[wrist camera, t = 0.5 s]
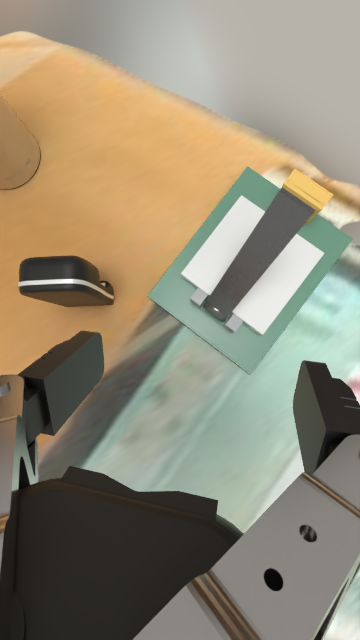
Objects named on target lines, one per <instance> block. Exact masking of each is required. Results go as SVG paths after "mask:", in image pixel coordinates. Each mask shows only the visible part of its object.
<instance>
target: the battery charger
mask: <svg viewBox="0 0 360 640" xmlns="http://www.w3.org/2000/svg"><path fill="white" fill-rule="evenodd" d="M18 288H19V291H20V293H21V294H22V295H24V296H27V297H31V298H35V299H38V300H42V301H46V302H50V303H55V304H58V305H62V306H65V307H72V306H95V305H112V304H113V300H114V296H113V289H112V286H111V284H110V283H109V282H107V281H99V272H98V269H97V268H96V267H95V266H94V265H92V264H91V263H90V262H88V261H87V260H85V259H83V258H80V257H78V256H51V257H34V258H28V259H25V260H24V261H22V262H21V264H20V269H19V283H18Z"/></svg>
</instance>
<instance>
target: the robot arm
mask: <svg viewBox="0 0 360 640" xmlns="http://www.w3.org/2000/svg"><path fill="white" fill-rule="evenodd" d="M39 161H40V149H39V146H38V143H37V141H36V139H35V137H34V136H33V135H32V134H31V132H30V131H29V130H28V129H27V127H26V126H25V125H24V123H23V122H22V121H21V120H20V118H19V117H18V116H17V114H16V113H15V112H14V111H13V109H12V108H11V107H10V106H9V104H8V103H7V102H6V101H5V99H4V98H3V97H2V95H1V94H0V189H12V188H16V187H18V186H20V185H23V184H24V183H25V182H27V181H28V180H29V179H30V178H31V177H32V176H33V175H34V173H35V171H36V170H37V167H38V165H39ZM103 372H104V357H103V346H102V337H101V335H100V333H96V332H88V331H80V332H79V333H77V334H76V335H75V336H74V337H72V338H71V339H70V340H68V341H65V342H63V343H60V344H58V345H56V346H55V347H53V348H52V349H51V350H49V351H48V353H46V354H44V355H43V356H42V357H41V359H38V360H36V361H35V362H34V363H32V364H31V365H30V366H29V367H27V368H26V369H25V370H23V371H22V372H21V373H19V374H18V375H2V376H0V640H323V638H324V636H325V635H326V633H327V631H328V629H329V627H330V625H331V623H332V621H333V619H334V617H335V615H336V613H337V611H338V609H339V607H340V605H341V603H342V601H343V599H344V597H345V596H346V594H347V592H348V590H349V588H350V586H351V584H352V583H353V581H354V579H355V577H356V575H357V573H358V571H359V570H360V405H359V403H358V401H356V397H355V395H354V393H353V391H352V389H351V388H350V387H349V386H348V385H346V384H345V383H344V382H343V381H342V380H341V379H336V378H332V377H331V374H330V372H329V370H328V368H327V365H326V364H325V363H319V362H312V361H302V363H301V367H300V371H299V375H298V380H297V384H296V389H295V393H294V399H293V413H294V418H295V423H296V429H297V434H298V439H299V444H300V450H301V455H302V460H303V466H304V471H305V472H304V473H302V474H301V475H300V476H299V477H298V478H297V479H296V480H295V481H294V482H293V483H292V484H291V485H290V486H289V487H288V488H287V489H286V490H285V491H284V492H283V493H282V494H281V495H280V497H279V498H278V499H277V500H276V501H275V502H274V503H273V504H272V505H271V506H270V507H269V508H268V509H267V510H266V511H265V512H264V513H263V514H262V516H261V517H260V518H259V519H258V520H257V521H256V522H255V523H254V524H253V525H252V526H251V527H250V528H249V529H248V530H247V531H246V532H245V533H244V534H243V533H242V532H241V531H240V530H239V529H238V528H237V527H235V526H234V525H233V524H232V523H230V522H229V521H227V520H226V519H224V518H223V517H221V516H219V515H217V514H216V513H217V504H218V500H214V499H210V498H206V497H201V496H197V495H193V494H188V493H184V492H180V491H162V492H137V491H134V490H132V489H130V488H128V487H126V486H125V485H123V484H121V483H119V482H117V481H115V480H114V479H112V478H110V477H108V476H106V475H105V474H102V473H98V472H93V471H89V470H85V469H80V468H76V467H72V466H69V468H68V469H67V471H66V472H65V474H64V475H63V477H62V478H57V479H50V480H45V481H41V482H38V445H37V439H36V437H37V436H38V435H39V434H40V433H43V434H48V435H52V436H54V435H55V434H56V433H57V432H58V430H59V429H60V428H61V427H62V426H63V424H64V423H65V422H66V421H67V419H68V418H69V417H70V416H71V415H72V413H73V412H74V411H75V410H76V409H77V407H78V406H79V405H80V404H81V402H82V401H83V400H84V399H85V398H86V396H87V395H88V394H89V393H90V392H91V390H92V389H93V388H94V387H95V385H96V384H97V383H98V382H99V381H100V379H101V378H102V375H103Z"/></svg>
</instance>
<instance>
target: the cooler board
mask: <svg viewBox="0 0 360 640" xmlns="http://www.w3.org/2000/svg"><path fill="white" fill-rule="evenodd" d="M282 188H284V189H285V190H287V191H288V192H290V193H291V194H293V195H294V196H296V197H297V198H299V199H300V200H301V201H303V202H304V203H306V204H307V205H309V206H310V207H312V208H313V209H315V211H314V213H313V214H312V216H311V217H310V218H309V219H308V220H307V222H306V223H305V224H304V225H303V226H302V228H301V229H300V230H299V231H298V232H297V234H296V235H295V236H294V237H293V239H292V240H291V241H290V242H289V243H288V245H287V246H286V247H285V248H284V249H283V251H282V252H281V253H280V254H279V255H278V257H277V258H276V259H275V260H274V261H273V263H272V264H271V265H270V266H269V268H268V269H267V270H266V271H265V272H264V274H263V275H262V276H261V277H260V278H259V280H258V281H257V282H256V283H255V284H254V286H253V287H252V288H251V289H250V291H249V292H248V293H247V294H246V295H245V297H244V298H243V299H242V300H241V301H240V303H239V304H238V305H237V306H236V307H235V309H234V310H233V311H232V312H231V314H230V315H229V316H228V317H227V318H226V320H225V321H224V322H222V321H220V320H219V319H218V318H216V317H215V316H214V315H212V314H211V313H210V312H208V311H207V310H206V309H204V308H203V307H202V306H203V305H204V303H205V302H206V301H207V299H208V298H209V296H210V295H211V293H212V292H213V290H214V289H215V287H216V286H217V284H218V283H219V281H220V280H221V278H222V277H223V275H224V274H225V272H226V270H227V269H228V267H229V266H230V264H231V263H232V261H233V260H234V258H235V257H236V255H237V254H238V252H239V251H240V249H241V248H242V246H243V245H244V243H245V242H246V240H247V239H248V237H249V236H250V234H251V233H252V231H253V230H254V228H255V227H256V225H257V224H258V222H259V221H260V219H261V218H262V216H263V215H264V213H265V211H266V210H267V208H268V207H269V205H270V204H271V202H272V201H273V199H274V198H275V196H276V195H277V193H278V192H279V191H280V190H281V189H279V188H278V187H276V186H275V185H274V184H272V183H271V182H269V181H268V180H266V179H265V178H263V177H262V176H260V175H259V174H258V173H256V172H255V171H253V170H252V169H250V168H249V167H247V168H246V169H245V170H244V172H243V173H242V174H241V176H240V177H239V178H238V179H237V181H236V182H235V183H234V185H233V186H232V187H231V188H230V190H229V191H228V192H227V194H226V195H225V196H224V198H223V199H222V200H221V201H220V203H219V204H218V205H217V207H216V208H215V209H214V211H213V212H212V213H211V214H210V216H209V217H208V218H207V220H206V221H205V222H204V223H203V225H202V226H201V227H200V229H199V230H198V231H197V233H196V234H195V235H194V236H193V238H192V239H191V240H190V242H189V243H188V244H187V246H186V247H185V248H184V249H183V251H182V252H181V253H180V255H179V256H178V257H177V259H176V260H175V261H174V262H173V264H172V265H171V266H170V268H169V269H168V270H167V271H166V273H165V274H164V275H163V277H162V278H161V279H160V281H159V282H158V283H157V284H156V286H155V287H154V288H153V290H152V291H151V292H150V294H149V295H148V297H149V298H150V299H152V300H153V301H154V302H155V303H157V304H158V305H159V306H161V307H162V308H163V309H165V310H166V311H167V312H169V313H170V314H171V315H173V316H174V317H175V318H176V319H178V320H179V321H180V322H182V323H183V324H184V325H186V326H187V327H188V328H190V329H191V330H192V331H193V332H195V333H196V334H197V335H199V336H200V337H201V338H203V339H204V340H205V341H207V342H208V343H209V344H211V345H212V346H213V347H214V348H216V349H217V350H218V351H220V352H221V353H222V354H224V355H225V356H226V357H228V358H229V359H230V360H232V361H233V362H234V363H235V364H237V365H238V366H239V367H241V368H242V369H243V370H245V371H246V372H247V373H249V374H250V375H251V373H252V372H253V371H254V369H255V368H256V367H257V365H258V364H259V363H260V361H261V360H262V359H263V357H264V356H265V355H266V353H267V352H268V351H269V349H270V348H271V347H272V345H273V344H274V343H275V341H276V340H277V339H278V337H279V336H280V335H281V333H282V332H283V331H284V329H285V328H286V327H287V325H288V324H289V323H290V321H291V320H292V319H293V317H294V316H295V315H296V313H297V312H298V311H299V309H300V308H301V307H302V305H303V304H304V303H305V301H306V300H307V299H308V298H309V296H310V295H311V294H312V292H313V291H314V290H315V288H316V287H317V286H318V284H319V283H320V282H321V280H322V279H323V278H324V276H325V275H326V274H327V272H328V271H329V270H330V268H331V267H332V266H333V264H334V263H335V262H336V260H337V259H338V258H339V256H340V255H341V254H342V252H343V251H344V250H345V248H346V247H347V246H348V244H349V243H350V242H351V240H352V238H351V237H349V236H348V235H346V234H345V233H343V232H342V231H341V230H339V229H338V228H336V227H335V226H333V225H332V224H330V223H329V222H328V221H326V220H325V219H323V218H322V217H320V216H319V215H317V214H318V212H320V211H321V210H322V209H323V207H324V206H325V205H326V203H327V202H328V201H329V200H330V198H331V197H332V196H333V194H332V193H330V192H329V191H327V190H326V189H324V188H323V187H321V186H320V185H318V184H317V183H315V182H314V181H312V180H311V179H309V178H308V177H306V176H305V175H303V174H302V173H300V172H299V171H297V170H296V169H294V171H293V172H292V173H291V175H290V176H289V177H288V179H287V180H286V181H285V183H284V184H283V186H282Z"/></svg>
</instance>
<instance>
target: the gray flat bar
mask: <svg viewBox="0 0 360 640" xmlns="http://www.w3.org/2000/svg"><path fill="white" fill-rule="evenodd" d="M314 211H315V209H313V208H312V207H310V206H309V205H307V204H306V203H304V202H303V201H301V200H300V199H299V198H297V197H296V196H294V195H293V194H291V193H290V192H288V191H287V190H285V189H284V188H281V190H280V191H279V192H278V193H277V195H276V196H275V198H274V199H273V201H272V202H271V204H270V205H269V207H268V208H267V210H266V211H265V213H264V215H263V216H262V218H261V219H260V221H259V222H258V224H257V225H256V227H255V228H254V230H253V231H252V233H251V234H250V236H249V237H248V239H247V240H246V242H245V243H244V245H243V246H242V248H241V249H240V251H239V252H238V254H237V255H236V257H235V258H234V260H233V261H232V263H231V264H230V266H229V267H228V269H227V270H226V272H225V274H224V275H223V277H222V278H221V280H220V281H219V283H218V284H217V286H216V287H215V289H214V290H213V292H212V293H211V295H210V296H209V298H208V299H207V301H206V302H205V303H204V305H203V306H202V307H203V308H204V309H206V310H207V311H208V312H210V313H211V314H212V315H214V316H215V317H216V318H218V319H219V320H220V321H222V322H224V321H225V320H226V318H227V317H228V316H229V315H230V314H231V312H232V311H233V310H234V309H235V307H236V306H237V305H238V304H239V303H240V301H241V300H242V299H243V298H244V297H245V295H246V294H247V293H248V292H249V291H250V289H251V288H252V287H253V286H254V284H255V283H256V282H257V281H258V280H259V278H260V277H261V276H262V275H263V274H264V272H265V271H266V270H267V269H268V268H269V266H270V265H271V264H272V263H273V261H274V260H275V259H276V258H277V257H278V255H279V254H280V253H281V252H282V251H283V249H284V248H285V247H286V246H287V245H288V243H289V242H290V241H291V240H292V239H293V237H294V236H295V235H296V234H297V232H298V231H299V230H300V229H301V228H302V226H303V225H304V224H305V223H306V222H307V220H308V219H309V218H310V217H311V216H312V214H313V213H314Z"/></svg>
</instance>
